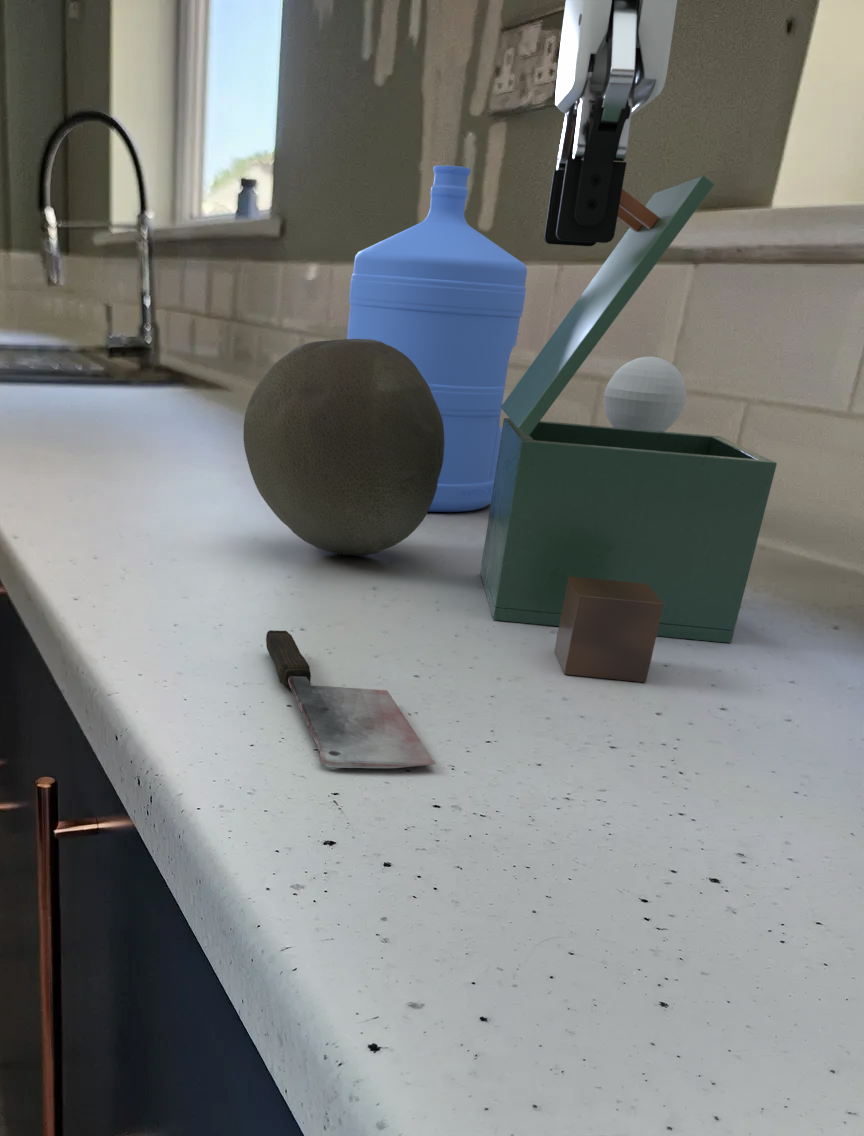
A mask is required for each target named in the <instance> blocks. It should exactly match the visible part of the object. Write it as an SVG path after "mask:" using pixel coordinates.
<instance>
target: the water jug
mask: <svg viewBox="0 0 864 1136" xmlns="http://www.w3.org/2000/svg"><path fill="white" fill-rule="evenodd" d="M471 170H472V169H471V168H470V167H467V166H466V167H465V166H459V165H434V166H433V169H432V171H433V173H434V177H433V185H432V186H431V188H430V205H429V211H428V213H427V216H425V218H424V219H423V220H422V221H421V222H419V223H417V224H415V225H413V226H410V227H409V228H406V229H404V230H402V231H400V232H398V233H396V234H394V235H392V236H389V237H387V238H385V239H383V240H381V241H378V242H377V243H375V244H373V245H369V247H366V248H364V249H362V250H360V251H358V252H357V254H355V257H354V260H353V261H354V262H353V273H352V274H351V279H350V286H349V295H348V296H349V300H348V302H349V312H348V313H349V315H348V324H347V335H346V339H372V340H377V341H381V342H383V343H385V344H386V345H389V346H392V347H393V348H395V349H397V350H398V351H400V352H402V353H403V354H404V355H406V356H407V357H408V358H409V359H410V360H411V361H412V362H413V363H414V365H415V366H416V367H417V369H418V370H419V372H420V373H421V375H422V377H423V378H424V379H425V381H426V382H427V384H428V386H429V388H430V390H431V393H432V395H433V397H434V400H435V402H436V404H437V406H438V409H439V412H440V414H441V418H442V421H443V426H444V457H443V464H442V469H441V472H440V476H439V478H438V484H437V490H436V493H435V496H434V499H433V501H432V504H431V506H430V508H429V510H428V512H429V513H461V512H462V513H463V512H472V511H477V510H480V509H483V508H485V507H487V506H488V505H491V499H492V493H493V486H494V480H495V473H496V467H497V460H498V454H499V447H500V441H501V434H502V428H503V427H501V426H500V425H501V423H500V422H501V414H502V409H501V406H502V405H503V403H504V402H503V401H504V396H505V395H504V394H505V387H506V381H507V374H508V369H509V361H510V357H511V353H512V350H513V348H514V347H515V346H517V341H518V334H519V329H520V328H519V327H520V320H521V317H522V316H523V311H524V307H525V300H526V291H527V288H526V281H527V275H528V274H527V273H528V268H527V265H526V264H525V263H524V262H522V261H520V260H519V259H518V258H516V257H515V256H514V255H512V254H510V253H509V252H508V251H506V250H505V249H503V248H502V247H501V246H499V245H498V244H496V243H495V242H493V241H492V240H490V239H489V238H488V237H487V236H485V235H484V234H482V233H480V232H479V231H478V230H476V229H475V228H473V227H472V226H470V224H469V223H468V222H467V220H466V216H465V209H466V202H467V199H468V194H469V190H468V188H467V187H468V186H467V185H468V179H469V178H468V177H469V176H470V174H471ZM428 512H427V513H428Z"/></svg>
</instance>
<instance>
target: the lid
mask: <svg viewBox="0 0 864 1136" xmlns="http://www.w3.org/2000/svg"><path fill="white" fill-rule="evenodd" d="M714 186H715V183H714V182H713V181H712V180H710V179H709V178H708V177H706V176H705V175H701V176H698V177H696V178H693V179H690V180H688V181H685V182H682V183H679V184H676V185H674V186H671V187H668V188H666V189H663V190H660V191H658V192H657V191H656V192H655V193H653V194H652V196H651V197H650V199H649V200H648V201H647V203H646V204H645V205H644V204H643V203H642V202H641V201H639V200H638V199H637V198H635V196H633V195H632V194H630V192H628V191H627V190H625V189H624V188H623V187H622V193H621V198H620V204H619V210H618V216H617V220H619V221H620V222H621V223H622V224H624V225H626V226H627V227H628V229H627V231H626V232H625V234H624V235H623V236H622V237H621V239H620V240H619V242H618V243H617V245H616V246H615V247H614V249H613V250H612V252H610V254H609V256H608V257H607V259H606V260H605V261H604V263H603V264H602V266H601V267H600V268H599V270H598V271H597V273H596V274H595V275H594V277H592V280H591V281H590V282H589V283H588V284H587V286H586V287H585V289H584V290H583V292H582V293H581V295H580V296H579V297H578V299H577V300H576V301H575V303H574V304H573V306H572V307H571V309H570V310H569V311H568V313H567V314H566V315H565V317H564V318H563V320H562V321H561V322H560V324H559V325H558V327H557V328H556V329H555V331H554V332H553V334H552V335H550V338H549V339H548V341H546V343H545V345H544V346H543V347H542V349H541V351H540V352H539V353H538V354H537V356H536V357H535V358H534V360H533V361H532V362H531V364H530V365H529V367H528V368H527V370H526V371H525V372H524V373H523V375H522V376H521V378H520V380H519V381H518V382H517V384H516V385H515V386H514V388H513V389H512V390H511V392H510V393H509V395H508V396H507V397H506V399H505V401H504V402H502V406H501V411H503V412H504V414H505V415H506V416H507V418H510V419H511V421H512V422H513V423H514V424H515V425H516V427H517V428H518V429H519V430H520V431H522V432H523V433H524V434H526V435H527V436H529V435H530V434H531V432H532V431H533V430H534V428H535V427H536V426H537V424H538V423H539V422H540V421H542V419H543V418H544V416H545V415H546V413H547V412H548V411H549V409H550V408H551V407H552V406H553V404H554V403H555V401H556V400H557V399H558V398H559V396H560V395H561V393H562V392H563V390H564V389H565V388H566V386H567V385H568V384H569V382H570V381H571V380H572V378H573V377H574V376H575V374H576V373H577V372H578V370H580V368H581V366H582V365H583V363H584V362H585V361H586V360H587V358H588V357H589V356H590V354H591V353H592V351H593V350H594V348H595V347H596V346H597V344H598V343H599V342H600V340H601V339H602V337H604V335H605V334H606V332H608V330H609V329H610V327H611V325H612V324H613V323H614V322H615V320H616V319H617V317H618V316H619V315H620V314H621V312H622V311H623V310H624V308H625V307H626V305H627V304H628V303H629V301H630V300H631V299H632V297H633V296H634V294H635V293H636V292H637V290H638V289H639V288H640V286H641V285H642V284H643V282H644V281H645V280H646V278H647V277H648V276H649V275H650V273H651V272H652V271H653V269H654V267H655V266H656V265H657V264H658V262H659V261H660V260H661V258H662V257H663V256H664V254H665V253H666V251H667V250H668V248H669V247H670V246H671V244H672V243H673V242H674V241H675V239H676V238H677V236H678V235H679V234H680V233H681V231H682V230H683V228H684V227H685V226H686V225H687V223H688V222H689V220H690V219H691V218H692V216H693V215H694V213H695V212H696V211H697V210H698V208H699V207H700V205H701V204H702V203H703V201H704V200H705V198H706V197H707V196H708V195H709V193H710V192H711V191H712V189H713V188H714Z"/></svg>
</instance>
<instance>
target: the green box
mask: <svg viewBox="0 0 864 1136" xmlns="http://www.w3.org/2000/svg"><path fill="white" fill-rule="evenodd" d="M501 428H502V434H501V441H500V447H499V454H498V460H497V467H496V473H495V480H494V486H493V493H492V499H491V503H490V507H489V513H488V521H487V525H486V532H485V540H484V548H483V553H482V559H481V565H480V572H479V573H480V577H481V580H482V584H483V587H484V592H485V595H486V598H487V602H488V605H489V609H490V612H491V616H492V619H493V621H499V622H501V621H502V622H511V623H520V624H521V623H522V624H529V625H531V624H532V625H541V626H551V627H559V623H560V618H561V612H562V607H563V602H564V596H565V591H566V586H567V580H568V577H569V576H571V577H581V578H592V579H603V580H613V581H624V582H634V583H645V584H648V586H649V587H650V588H651V589H652V590H653V592H654V593H655V594H656V595H657V596H658V598H659V599H660V600H661V601H662V602H663V604H664V605H663V609H662V614H661V618H660V623H659V627H658V632H657V636H656V637H665V638H674V639H675V638H676V639H684V640H693V641H694V640H695V641H706V642H716V643H726V644H731V643H732V642H733V637H734V633H735V629H736V627H737V626H736V625H737V621H738V618H739V615H740V614H739V613H740V610H741V605H742V602H743V598H744V594H745V591H746V586H747V582H748V580H749V579H748V578H749V575H750V571H751V567H752V563H753V559H754V556H755V551H756V547H757V544H758V540H759V535H760V531H761V527H762V523H763V519H764V517H765V512H766V509H767V505H768V500H769V496H770V493H771V489H772V484H773V480H774V477H775V473H776V470H777V466H778V463H777V461H774V460H772V459H769V458H768V457H765V456H763V455H762V454H760V453H757V452H755V451H753V450H751V449H748V448H746V447H744V446H742V445H740V444H738V443H735V442H734V441H731V440H729V439H727V438H725V437H723V436H721V435H709V434H697V433H687V432H686V433H685V432H673V431H652V430H640V429H628V428H617V427H613V426H604V425H603V426H602V425H591V424H582V423H581V424H580V423H570V422H569V423H568V422H556V421H545V420H544V421H543V420H540V422H539V423H538V424H537V426H536V427H535V428H534V430H533V431H532V432H531V434H530V435H529V436H527V435H526V434H524V433H523V432H522V431H520V430H519V429H518V428H517V427H516V425H515V424H514V423H513V422H512V421H511V419H510V418H509V417H503V422H502V427H501Z"/></svg>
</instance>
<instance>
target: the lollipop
mask: <svg viewBox="0 0 864 1136" xmlns="http://www.w3.org/2000/svg"><path fill="white" fill-rule="evenodd" d="M685 384H686V383H685V380H684V378H683V376H682V374H681V372H680V371H679V369H677V367H676V366H675V365H674V364H672V363H671V362H669V361H668V360H666V359H664V358H661V357H657V356H642V357H638V358H633V360H629V361H628V362H626V363H625V364H623V365H621V367H619V368H618V370H616V371H615V372H614V374H613V375H612V377H611V378H610V379H609V381H608V383H607V385H606V387H605V390H604V393H603V404H604V405H603V406H604V412H605V415H606V419H607V420H608V422H609V423H610V425H611V427H617V428H628V429H640V430H652V431H664V432H667V430H669V428H671V427H672V426H673V425H674V423H675V422H676V421H677V420H678V419H679V417H680V415H681V414H682V412H683V410H684V406H685V405H686V400H687V389H686V385H685Z"/></svg>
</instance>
